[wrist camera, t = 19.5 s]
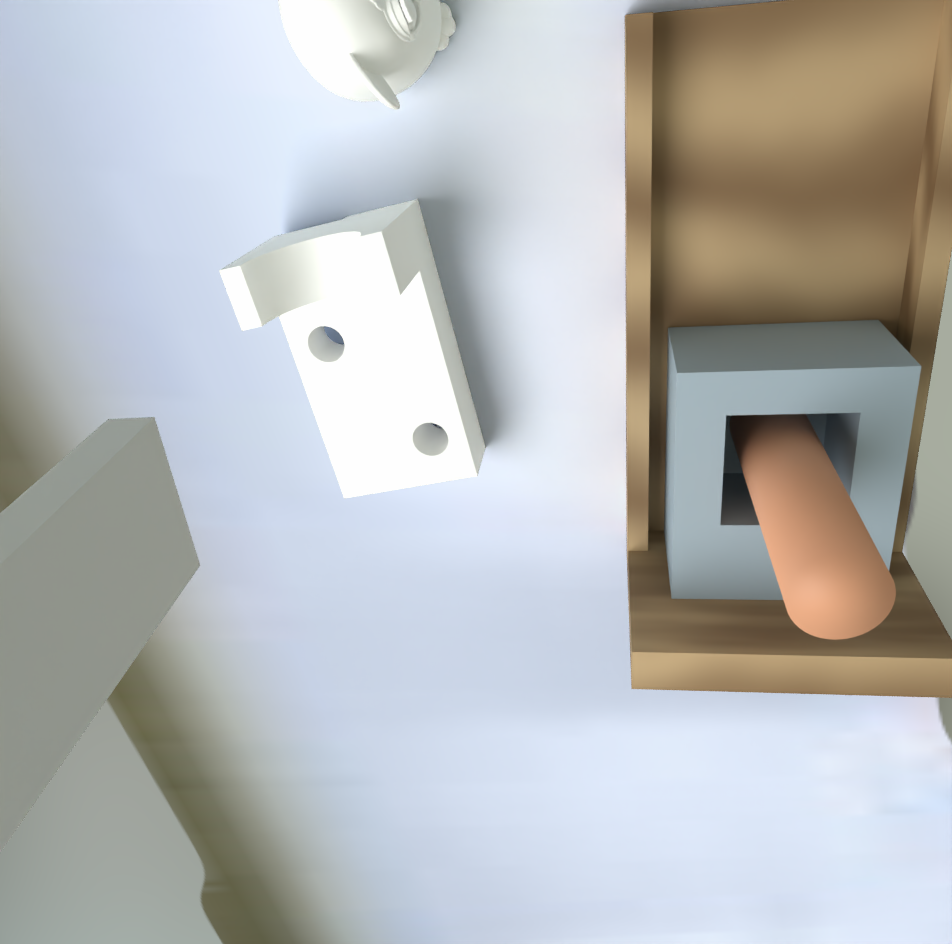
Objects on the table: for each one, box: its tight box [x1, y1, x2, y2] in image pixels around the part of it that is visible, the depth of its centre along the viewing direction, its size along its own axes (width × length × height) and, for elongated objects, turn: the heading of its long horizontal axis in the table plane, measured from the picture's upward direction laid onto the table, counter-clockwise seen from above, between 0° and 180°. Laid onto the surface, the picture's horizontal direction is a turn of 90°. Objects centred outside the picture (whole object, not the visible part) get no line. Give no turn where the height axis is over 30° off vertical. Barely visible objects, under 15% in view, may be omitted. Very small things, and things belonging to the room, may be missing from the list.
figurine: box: [278, 0, 456, 110], centre depth 34 cm, size 8×6×7 cm
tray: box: [625, 0, 952, 698], centre depth 35 cm, size 26×13×11 cm, turn 5°
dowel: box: [730, 414, 896, 640], centre depth 34 cm, size 3×3×14 cm
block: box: [664, 320, 921, 600], centre depth 39 cm, size 11×9×6 cm
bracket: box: [219, 199, 486, 498], centre depth 40 cm, size 13×7×8 cm, turn 14°
